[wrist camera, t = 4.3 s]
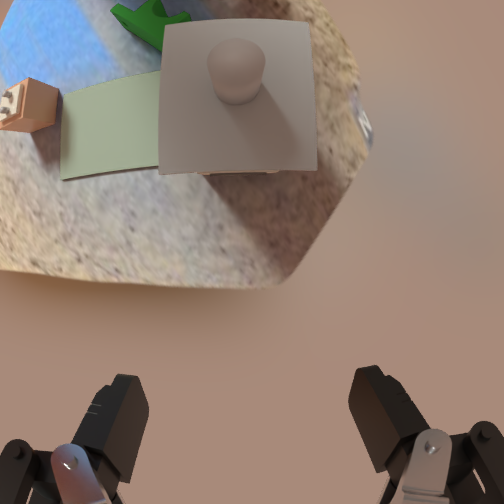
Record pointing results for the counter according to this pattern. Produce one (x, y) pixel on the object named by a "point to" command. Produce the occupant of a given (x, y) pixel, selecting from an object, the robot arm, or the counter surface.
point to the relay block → (28, 106)
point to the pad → (110, 126)
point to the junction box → (237, 98)
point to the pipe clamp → (148, 21)
